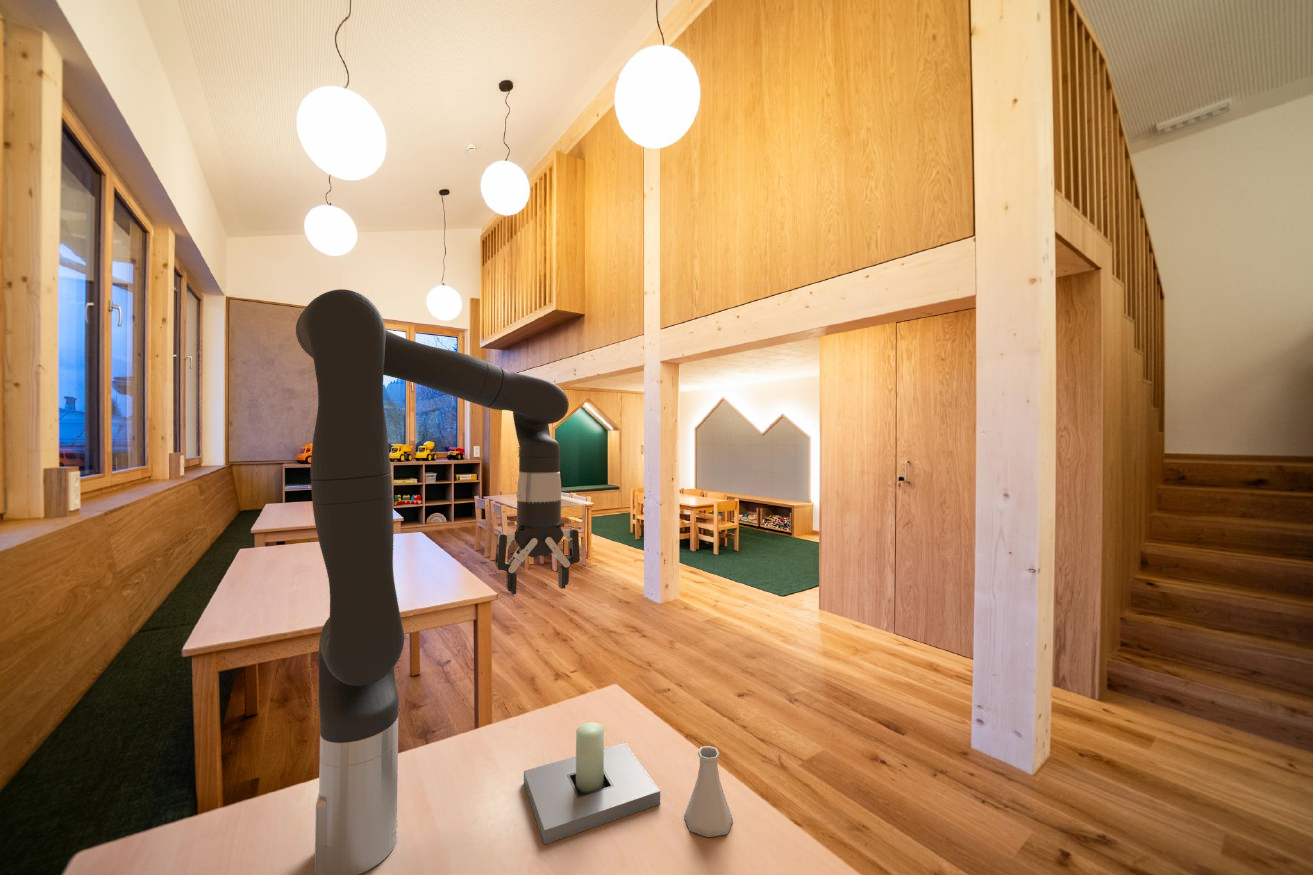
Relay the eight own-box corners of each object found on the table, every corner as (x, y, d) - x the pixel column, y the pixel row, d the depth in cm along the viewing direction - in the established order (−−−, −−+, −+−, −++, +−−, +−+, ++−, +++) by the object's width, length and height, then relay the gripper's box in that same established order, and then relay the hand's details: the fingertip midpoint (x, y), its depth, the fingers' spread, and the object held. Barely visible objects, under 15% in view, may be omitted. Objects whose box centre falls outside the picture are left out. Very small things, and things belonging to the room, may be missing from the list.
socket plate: (544, 844, 69) (544, 830, 69) (523, 783, 81) (523, 770, 82) (660, 803, 77) (660, 790, 77) (625, 753, 90) (625, 742, 90)
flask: (731, 804, 77) (732, 739, 77) (734, 841, 70) (734, 769, 70) (685, 800, 78) (685, 736, 78) (682, 836, 71) (683, 765, 71)
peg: (580, 806, 76) (581, 740, 76) (572, 788, 80) (572, 726, 80) (607, 797, 78) (607, 733, 78) (598, 780, 82) (598, 719, 82)
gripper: (501, 501, 81) (499, 602, 80) (585, 498, 87) (583, 591, 87) (493, 497, 87) (492, 589, 87) (572, 494, 94) (571, 580, 94)
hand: (538, 590), depth 87 cm, fingers open, 8 cm apart
